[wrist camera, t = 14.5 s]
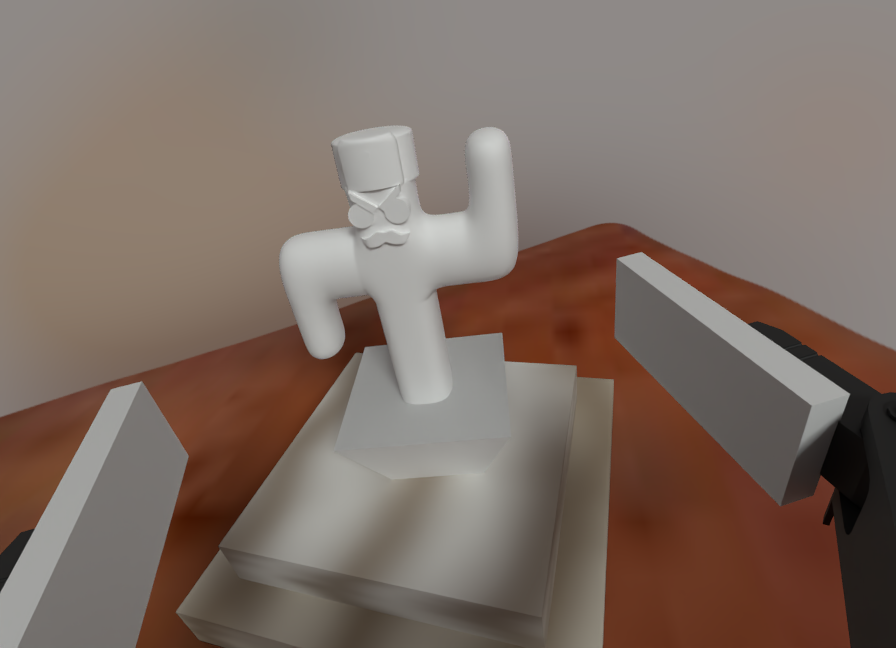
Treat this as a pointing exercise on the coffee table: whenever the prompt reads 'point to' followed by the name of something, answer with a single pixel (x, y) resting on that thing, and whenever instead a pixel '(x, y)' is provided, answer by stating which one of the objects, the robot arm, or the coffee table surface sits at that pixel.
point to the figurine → (411, 304)
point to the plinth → (425, 537)
